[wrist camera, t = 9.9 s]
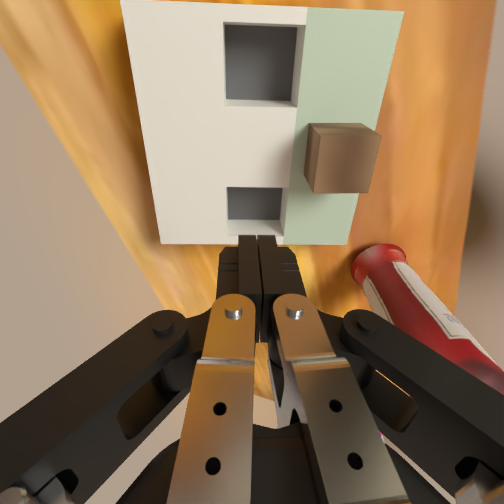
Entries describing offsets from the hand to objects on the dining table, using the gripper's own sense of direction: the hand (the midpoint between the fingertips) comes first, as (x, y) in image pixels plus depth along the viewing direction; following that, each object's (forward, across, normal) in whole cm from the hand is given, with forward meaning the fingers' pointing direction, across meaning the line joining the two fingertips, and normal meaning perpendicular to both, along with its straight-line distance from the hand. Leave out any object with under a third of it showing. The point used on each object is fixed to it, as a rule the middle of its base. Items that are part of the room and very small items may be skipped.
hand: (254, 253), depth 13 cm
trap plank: (+21, -1, +1) cm, 21 cm away
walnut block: (+17, -8, 0) cm, 18 cm away
